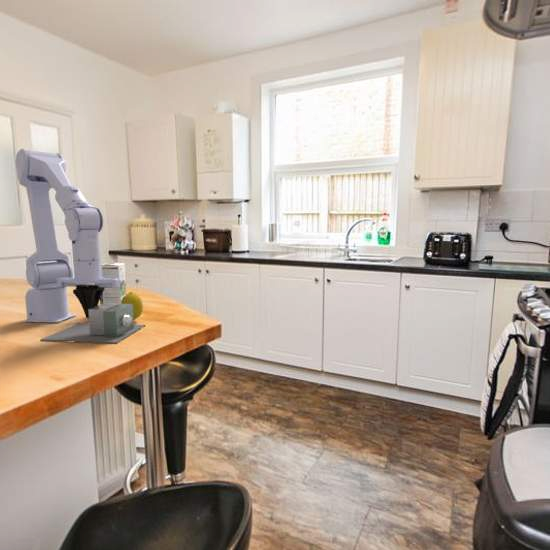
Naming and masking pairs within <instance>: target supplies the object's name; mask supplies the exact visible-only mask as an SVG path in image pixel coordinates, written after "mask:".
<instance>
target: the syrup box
mask: <svg viewBox="0 0 550 550" xmlns="http://www.w3.org/2000/svg"><path fill="white" fill-rule="evenodd" d="M101 275H102V277H105V278H119V279H120V287H117V288H112V287H104V291H103V293H102V295H101V297H100V300H99V305H101V304H121V301H122V298H123V297H124V296H125V295H126V294H127V279H126V264H125V263H124V262H105V263H101Z"/></svg>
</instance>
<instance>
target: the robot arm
mask: <svg viewBox="0 0 550 550" xmlns="http://www.w3.org/2000/svg"><path fill="white" fill-rule="evenodd" d="M66 166H67V165H66V161H65V158H64V156H63V155H62V154H61V153H52V152H47V151H46V152H44V151H39V150H38V151H37V150H30V149H29V150H27V149H24V148H20V149H19V150H18V151H17V153H16V156H15V169H16V175H17V179H18V183H19V185H21V186H22V187H24V188H25V190H26V194H27V199H28V204H29V211H30V216H31V218H30V219H31V224H32V225H31V226H32V230H33V236H34V242H35V248H36V250H35V252H33V254H31V255H30V256H29V257H27V259H26V260H25V261H26V262H25V266H26V267H25V268H26V270H25V277H26V281H27V283H28V285H29V286H31V287H30V288H28V289H27V291H26V293H25V298H24V299H25V308H26V317H27V318H26V319H25V320H24V322H29V323H60V322H63V321H65V320H68V319H70V318H72V317H76V316H77V313H69V302H68V288H67V287H75V289H72V293H73V294H74V296H75V298H77V300H78V301H79V303H80V304H81V308H82V311H83V312H84V315H85V318H86V319H89V311H88V309H90V308H93V307H96V306H98V305H99V304H100V297H101V295H102V293H103V291H104V287H112V288H117V287H120V279H119V278H105V277H102V275H101V265H102V263H101V262H102V261H101V248H100V247H101V246H100V233H101V231H102V229H103V227H104V217H103V214H102V212H101V209H100V208H99V207H96V206H94V205H90V203H89V202H88V200H87V199H86V198H85V196H84V194H83V193H82V192H81V190H80V189H79V188H78V187H77V186H75V185H72V184H71V183H70V181H69V178H68V177H67V174H66ZM51 189H54V191H55V195H54V198H55V200H56V202H57V204H58V205H59V208H60V209H61V211H62V212H63V214H64V216H65V217H64V218H65V219H64V224H65V228H66V230H67V233H68V239H69V241H71V247H72V248H71V249H72V250H71V251H72V260H73V261H72V262H73V264H72V265H73V266H72V265H71V262H70V258H69V255H67V254H66V253H63V252H62V251H61V250H60V249H58V242H57V236H56V230H55V224H54V218H53V212H52V211H53V209H52V205H51V199H50V190H51Z"/></svg>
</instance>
